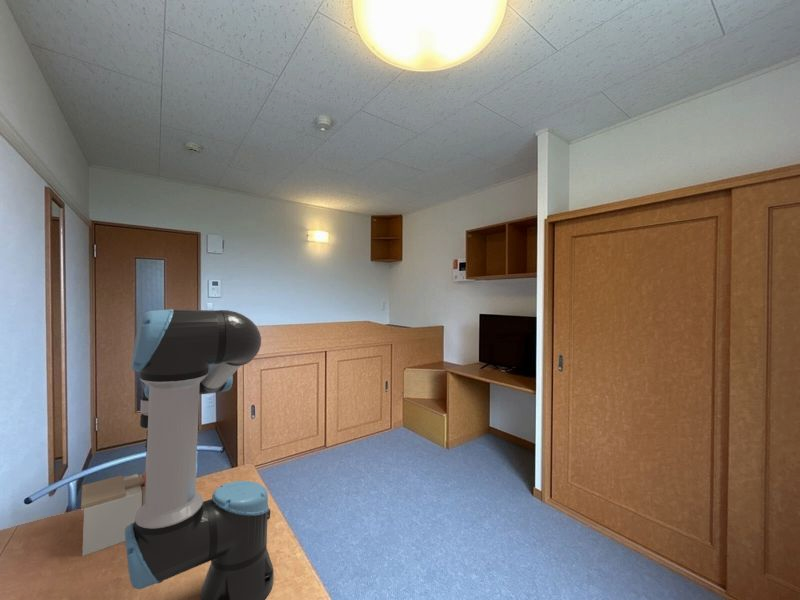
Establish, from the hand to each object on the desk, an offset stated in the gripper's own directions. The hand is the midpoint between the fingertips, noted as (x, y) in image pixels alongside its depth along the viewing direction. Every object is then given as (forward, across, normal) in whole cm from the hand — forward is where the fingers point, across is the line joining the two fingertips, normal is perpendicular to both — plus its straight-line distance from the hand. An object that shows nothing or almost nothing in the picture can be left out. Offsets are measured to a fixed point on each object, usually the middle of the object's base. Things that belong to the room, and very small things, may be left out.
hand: (153, 481), depth 103 cm
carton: (+11, 0, +9) cm, 15 cm away
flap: (0, 0, +7) cm, 7 cm away
